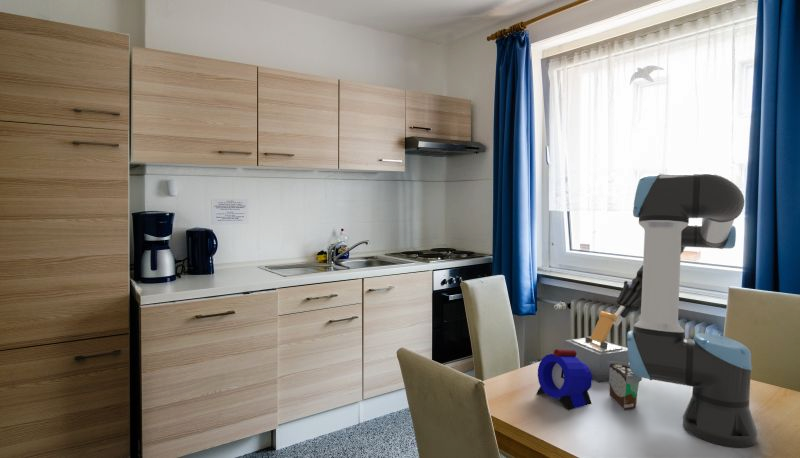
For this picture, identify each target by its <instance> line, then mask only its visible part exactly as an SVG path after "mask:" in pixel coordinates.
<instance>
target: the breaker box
mask: <svg viewBox="0 0 800 458" xmlns="http://www.w3.org/2000/svg"><path fill="white" fill-rule="evenodd" d="M590 337H591V335H590V336H585V337H581V338H580V337H579V338H573V339H565V340H564V350H575V351H576V357H577V358H578V359H579V360H580V361H581V362H583V363H584V364H586V365H587V366H588V367H589V369H590V371H591V374H592V381H594V382H596V383H598V384H601V383H605V382H609V368H608V365H609V361H613V362H621V363H626V364H629V358H628V348H625V347H622V346H620V345H616V344H613V343H612V342H608V341H606V340H605V342H601V343H599V342H596V341H594V340H592V339H590Z"/></svg>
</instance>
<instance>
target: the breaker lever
mask: <svg viewBox="0 0 800 458" xmlns="http://www.w3.org/2000/svg"><path fill="white" fill-rule="evenodd" d="M614 314H615V313H610V312H607V311H605V310H604V311H603V310H602V311H600V313H599V319H598V320H597V322H596V325H595V327H594V329H593V332H592V333H591V335H590V336H591V337H590V339H592V340H594V341H596V342H599V343H601V342H605V341H606V340H607V337H608V335H609V333H610V331H611V328H612V327H613V325H614V324H613V323H614V321H616V320H617V315H614Z"/></svg>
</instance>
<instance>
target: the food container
mask: <svg viewBox="0 0 800 458" xmlns="http://www.w3.org/2000/svg"><path fill="white" fill-rule="evenodd" d="M608 368H609V381H608V382H609V383H608V386H609V387H608V389H609V391H608V392H609V397H610V398H611V399H612V400H613V401H614V402H615V403H616V404H617V405H618V406H619V407H620V408H621V409H622V410H623V411H631V410H633V409H636V407H637V399H638V391H639V384H640V383H641V381H642V379H643V378H642V377H638V376H635V375H634V374H633V373H632V371H631V369H630V365H629V364H626V363H621V362H613V361H609V365H608Z"/></svg>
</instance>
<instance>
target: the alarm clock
mask: <svg viewBox="0 0 800 458" xmlns="http://www.w3.org/2000/svg"><path fill="white" fill-rule="evenodd" d="M537 367H538V368H537V379H538V380H537V381H538V383H539V387H538V390H537V391H536V395H546V396H548V397H549V398H552V399H558V401H559V403H561V404H562V405H563V407H565V409H566V410H567V411H571V410H574V409H578V408H581V407H584V406H585V407H586V406H589V405H592V404H593V403H592V400H591V397H590V395H589V390H590V389H591V388H592V384H593V380H592V374H591V371H590V369H589V367H588V366H587V365H586V364H584V363H583V362H581V361H580V360H579V359H578V358H577V357H576V351H575V350H565V349H555V350H553V353H550V354H546V355H544V357H542V359H541V360H540V361H539V364H538V366H537Z"/></svg>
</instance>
